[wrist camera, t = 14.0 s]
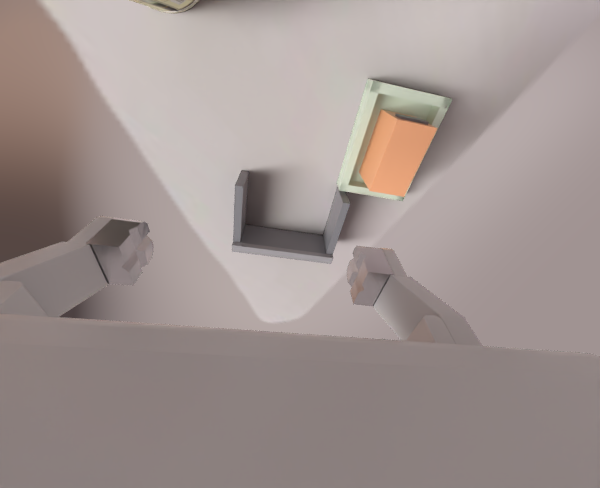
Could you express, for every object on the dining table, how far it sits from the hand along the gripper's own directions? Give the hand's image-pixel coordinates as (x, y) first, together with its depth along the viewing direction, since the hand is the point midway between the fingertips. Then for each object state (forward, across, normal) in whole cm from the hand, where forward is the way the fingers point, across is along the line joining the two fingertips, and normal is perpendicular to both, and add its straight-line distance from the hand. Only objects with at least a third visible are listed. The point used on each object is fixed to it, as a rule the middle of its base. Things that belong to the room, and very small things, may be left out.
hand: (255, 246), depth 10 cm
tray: (+26, -14, +2) cm, 30 cm away
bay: (+26, -3, +13) cm, 29 cm away
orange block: (+25, -14, +2) cm, 29 cm away
